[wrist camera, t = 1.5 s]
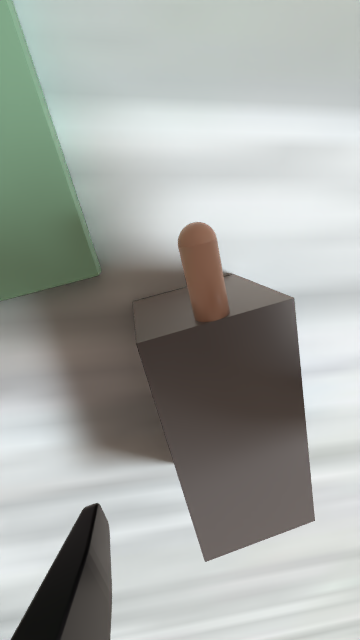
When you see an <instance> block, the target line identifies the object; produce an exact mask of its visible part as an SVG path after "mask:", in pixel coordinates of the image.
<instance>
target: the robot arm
mask: <svg viewBox="0 0 360 640" xmlns="http://www.w3.org/2000/svg"><path fill="white" fill-rule="evenodd" d="M111 612H112V579H111V555H110V532H109V524H108V521H107V519H106V517H105V514H104V512H103V510H102V508H101V506H100V504H98V503H95V504H92V505H89V506H87V507H85V508H84V509H83V510H82V512H81V514H80V515H79V517H78V519H77V521H76V523H75V524H74V526H73V528H72V530H71V532H70V533H69V535H68V537H67V539H66V541H65V542H64V544H63V546H62V548H61V550H60V551H59V553H58V555H57V557H56V559H55V560H54V562H53V564H52V566H51V568H50V570H49V571H48V573H47V575H46V577H45V579H44V580H43V582H42V584H41V586H40V588H39V589H38V591H37V593H36V595H35V597H34V598H33V600H32V602H31V604H30V606H29V607H28V609H27V611H26V613H25V615H24V616H23V618H22V620H21V622H20V624H19V625H18V627H17V629H16V631H15V633H14V634H13V636H12V638H11V640H110V632H111Z"/></svg>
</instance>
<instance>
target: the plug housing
mask: <svg viewBox="0 0 360 640" xmlns="http://www.w3.org/2000/svg"><path fill="white" fill-rule="evenodd" d="M178 248H179V252H180V257H181V261H182V266H183V270H184V274H185V279H186V283H187V287H185V288H181V289H177V290H174V291H170V292H167V293H163V294H159V295H156V296H152V297H148V298H145V299H141V300H137V301H134V302H133V311H134V323H135V335H136V344H137V348H138V351H139V354H140V357H141V360H142V363H143V367H144V370H145V373H146V376H147V379H148V382H149V386H150V389H151V392H152V395H153V398H154V401H155V405H156V408H157V411H158V414H159V417H160V420H161V424H162V427H163V430H164V433H165V436H166V440H167V443H168V446H169V449H170V452H171V455H172V459H173V462H174V465H175V468H176V471H177V474H178V478H179V481H180V484H181V487H182V490H183V493H184V497H185V500H186V503H187V506H188V509H189V512H190V516H191V519H192V522H193V525H194V528H195V531H196V535H197V538H198V541H199V544H200V547H201V551H202V554H203V557H204V560H205V562H207V561H209V560H212V559H214V558H217V557H220V556H222V555H225V554H228V553H230V552H233V551H236V550H238V549H241V548H244V547H246V546H249V545H252V544H254V543H257V542H260V541H262V540H265V539H268V538H270V537H273V536H276V535H278V534H281V533H284V532H286V531H289V530H292V529H294V528H297V527H299V526H302V525H305V524H307V523H310V522H313V521H315V517H314V506H313V495H312V485H311V474H310V463H309V452H308V442H307V431H306V420H305V410H304V399H303V388H302V377H301V367H300V356H299V345H298V334H297V324H296V313H295V302H294V298H293V297H290V296H288V295H285V294H283V293H280V292H278V291H275V290H273V289H270V288H268V287H265V286H263V285H260V284H258V283H255V282H253V281H250V280H248V279H245V278H242V277H240V276H237V275H235V274H232V275H229V276H225V277H224V276H223V271H222V265H221V259H220V254H219V248H218V243H217V238H216V234H215V232H214V231H213V229H212V228H211V227H210V226H209V225H207V224H205V223H201V222H194V223H191V224H189V225H187V226H186V227H185V228H183V230H182V231H181V233H180V235H179V238H178Z"/></svg>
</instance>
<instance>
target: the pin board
mask: <svg viewBox="0 0 360 640" xmlns="http://www.w3.org/2000/svg"><path fill="white" fill-rule="evenodd" d="M100 273H101V268H100V265H99V262H98V258H97V255H96V252H95V249H94V246H93V243H92V240H91V237H90V234H89V231H88V228H87V225H86V222H85V219H84V216H83V213H82V210H81V207H80V204H79V201H78V198H77V195H76V192H75V189H74V186H73V183H72V180H71V177H70V174H69V171H68V168H67V165H66V162H65V158H64V155H63V152H62V149H61V146H60V143H59V140H58V137H57V134H56V131H55V128H54V125H53V122H52V119H51V116H50V113H49V110H48V107H47V104H46V101H45V98H44V95H43V92H42V89H41V86H40V83H39V80H38V77H37V74H36V71H35V68H34V65H33V62H32V58H31V55H30V52H29V49H28V46H27V43H26V40H25V37H24V34H23V31H22V28H21V25H20V22H19V19H18V16H17V13H16V10H15V7H14V4H13V1H12V0H0V301H3V300H7V299H11V298H14V297H18V296H22V295H26V294H30V293H34V292H37V291H41V290H45V289H49V288H53V287H57V286H61V285H64V284H68V283H72V282H76V281H80V280H84V279H87V278H91V277H95V276H99V274H100Z"/></svg>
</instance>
